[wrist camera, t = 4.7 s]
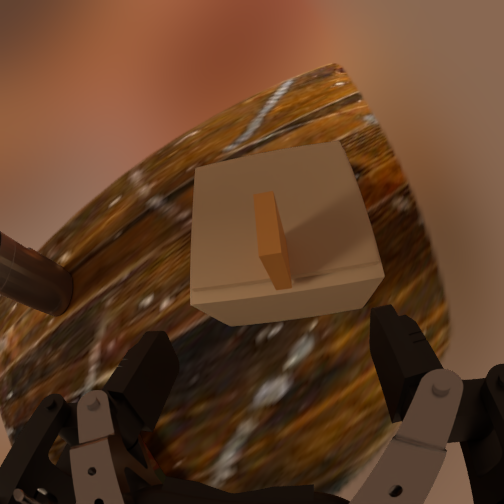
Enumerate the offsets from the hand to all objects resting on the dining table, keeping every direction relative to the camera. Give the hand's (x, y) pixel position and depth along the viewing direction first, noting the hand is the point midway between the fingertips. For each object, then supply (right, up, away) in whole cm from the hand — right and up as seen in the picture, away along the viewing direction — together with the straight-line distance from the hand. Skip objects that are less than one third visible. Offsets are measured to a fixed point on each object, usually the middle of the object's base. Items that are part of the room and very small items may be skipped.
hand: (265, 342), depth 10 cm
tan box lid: (+2, +7, +14) cm, 15 cm away
